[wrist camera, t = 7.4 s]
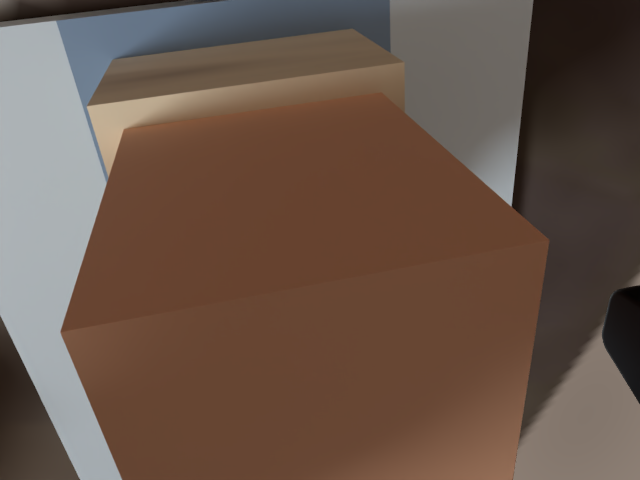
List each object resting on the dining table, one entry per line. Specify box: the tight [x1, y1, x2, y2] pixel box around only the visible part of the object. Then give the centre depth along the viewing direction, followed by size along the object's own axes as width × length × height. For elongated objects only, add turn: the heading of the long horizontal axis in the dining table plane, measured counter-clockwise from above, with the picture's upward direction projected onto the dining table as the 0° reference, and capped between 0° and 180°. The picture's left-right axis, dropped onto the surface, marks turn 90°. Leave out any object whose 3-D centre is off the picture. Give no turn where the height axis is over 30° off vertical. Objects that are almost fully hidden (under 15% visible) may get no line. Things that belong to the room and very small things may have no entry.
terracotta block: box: [60, 92, 549, 480], centre depth 9 cm, size 5×5×6 cm
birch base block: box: [87, 29, 405, 178], centre depth 14 cm, size 6×6×4 cm
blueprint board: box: [0, 0, 533, 480], centre depth 18 cm, size 18×16×1 cm
